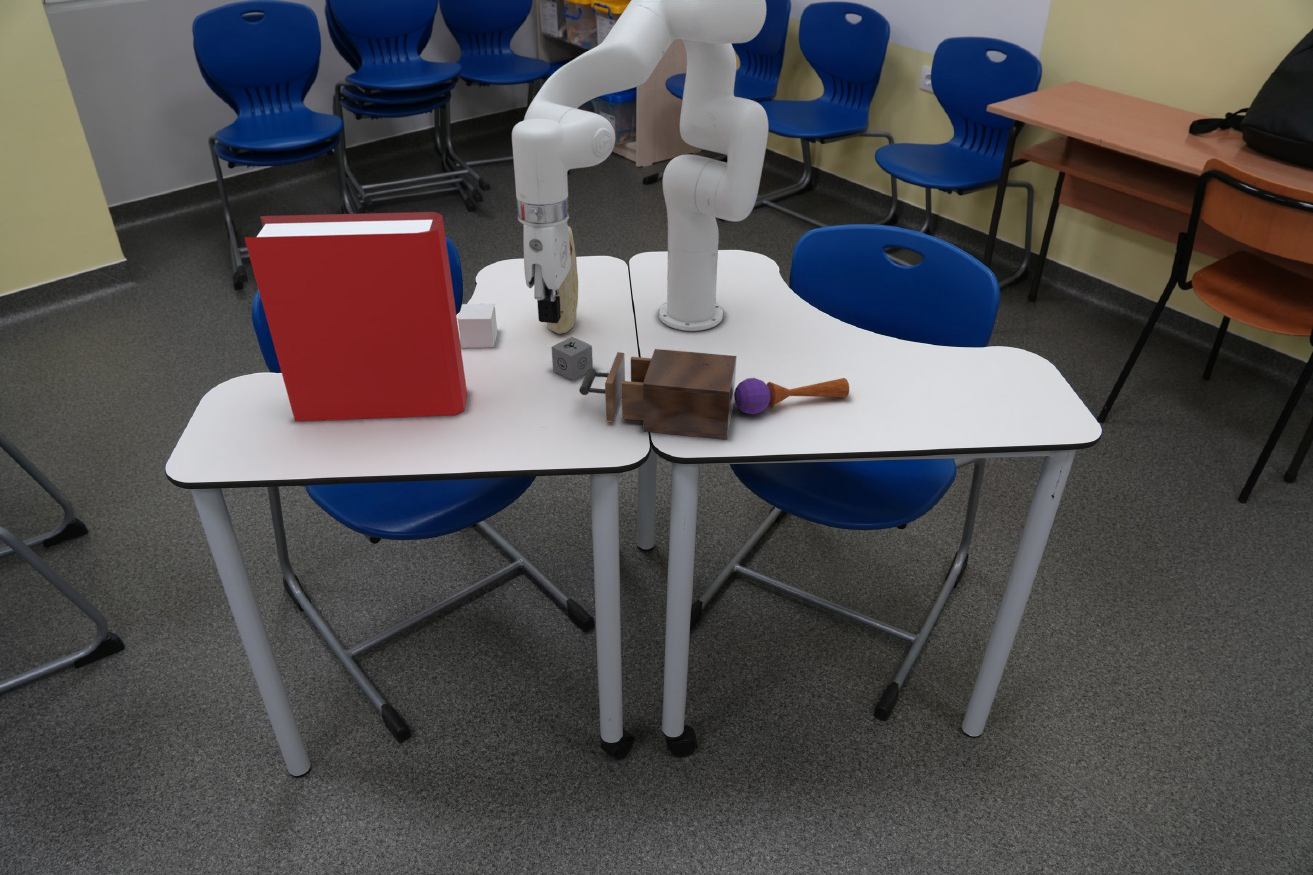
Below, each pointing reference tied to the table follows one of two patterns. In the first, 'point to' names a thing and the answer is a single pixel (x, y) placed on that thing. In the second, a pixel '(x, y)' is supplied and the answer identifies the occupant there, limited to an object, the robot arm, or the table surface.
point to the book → (361, 314)
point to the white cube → (477, 325)
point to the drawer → (620, 387)
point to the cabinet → (689, 394)
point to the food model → (568, 295)
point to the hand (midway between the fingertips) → (549, 320)
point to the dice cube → (572, 358)
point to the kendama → (782, 393)
